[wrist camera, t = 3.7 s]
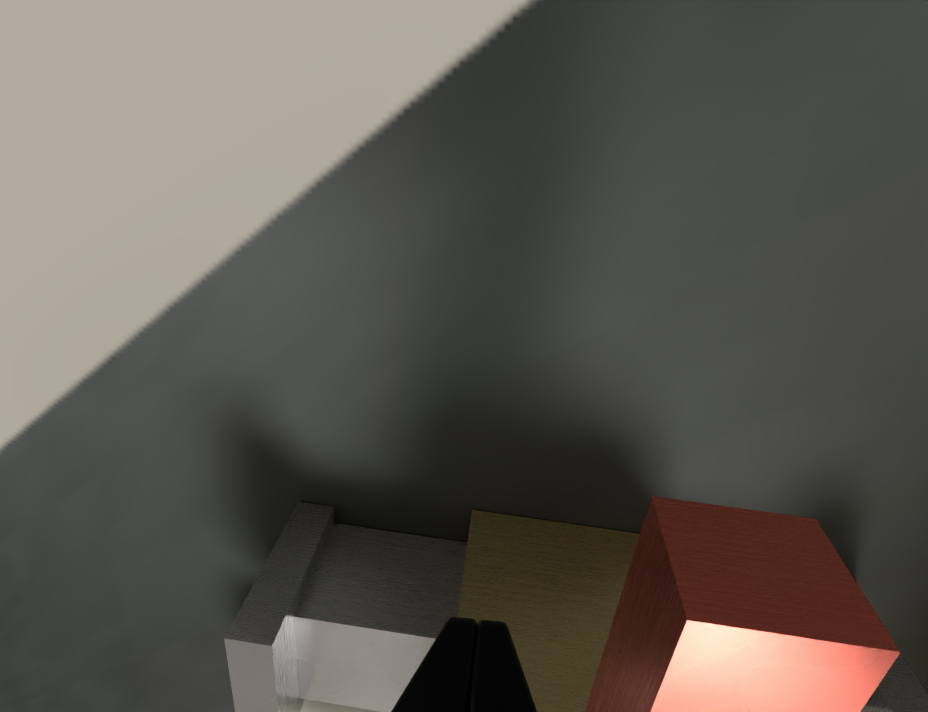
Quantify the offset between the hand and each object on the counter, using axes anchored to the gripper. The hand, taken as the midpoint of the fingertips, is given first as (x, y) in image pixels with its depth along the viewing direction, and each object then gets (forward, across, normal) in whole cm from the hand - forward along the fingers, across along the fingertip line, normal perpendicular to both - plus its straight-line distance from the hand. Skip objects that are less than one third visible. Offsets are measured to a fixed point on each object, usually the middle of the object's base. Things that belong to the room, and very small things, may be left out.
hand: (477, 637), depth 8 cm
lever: (0, -3, +4) cm, 4 cm away
